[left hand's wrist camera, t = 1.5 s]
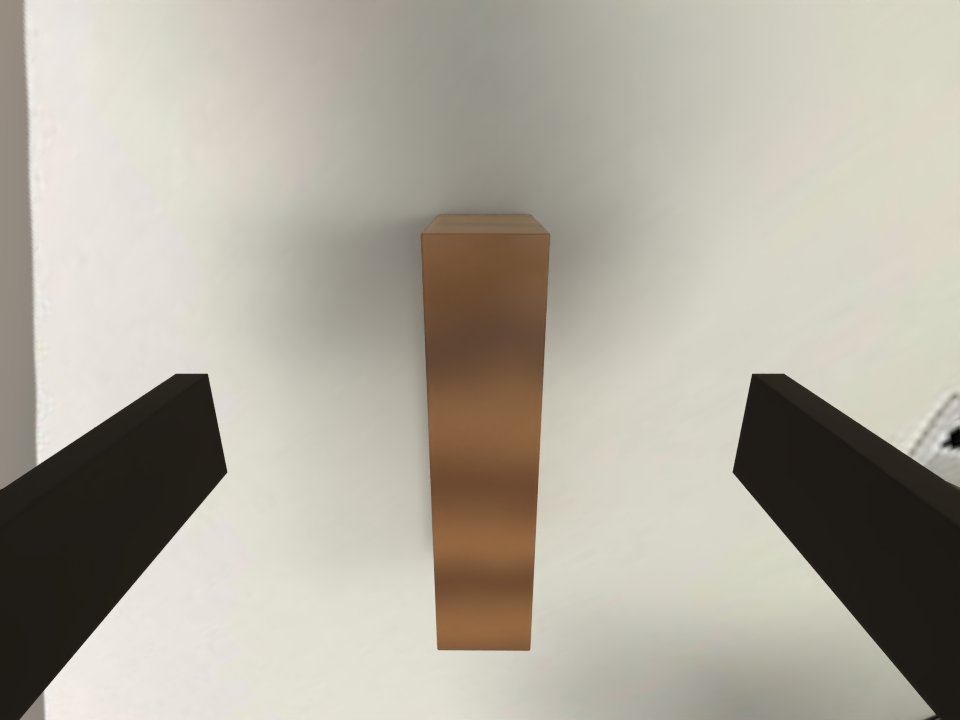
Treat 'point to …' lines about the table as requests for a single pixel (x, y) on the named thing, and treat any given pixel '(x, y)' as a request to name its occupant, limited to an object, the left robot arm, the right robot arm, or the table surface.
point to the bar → (484, 421)
